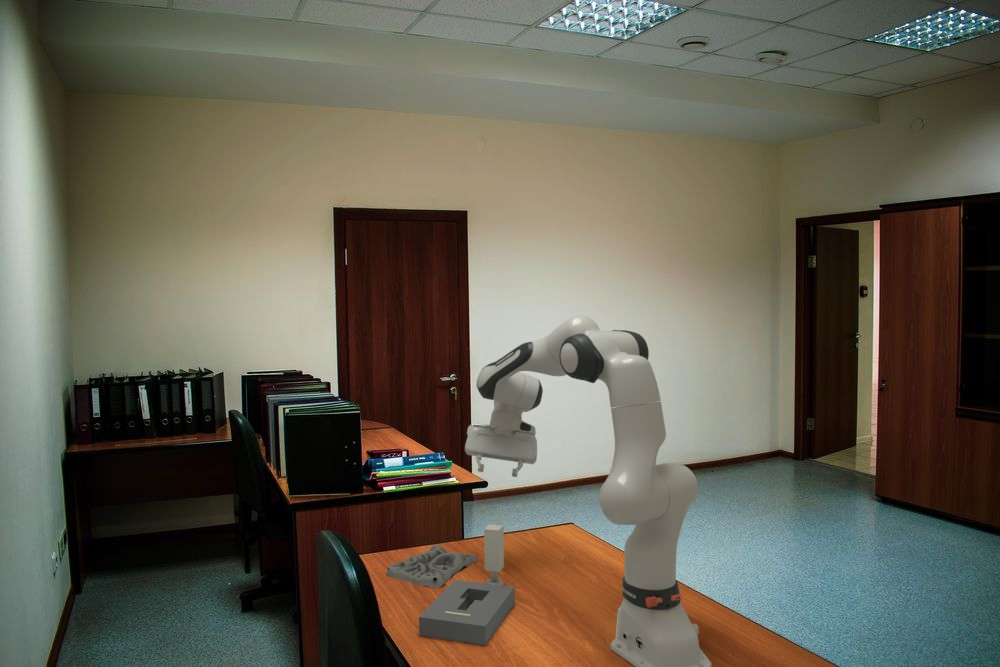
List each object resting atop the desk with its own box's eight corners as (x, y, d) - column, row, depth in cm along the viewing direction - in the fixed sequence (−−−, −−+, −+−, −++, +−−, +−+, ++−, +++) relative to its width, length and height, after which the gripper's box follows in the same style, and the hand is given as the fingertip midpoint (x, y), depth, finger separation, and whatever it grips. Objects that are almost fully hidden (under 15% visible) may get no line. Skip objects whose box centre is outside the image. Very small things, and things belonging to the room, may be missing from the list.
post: (489, 583, 190) (488, 524, 190) (505, 585, 189) (504, 525, 188) (484, 590, 186) (483, 529, 185) (500, 592, 185) (499, 530, 184)
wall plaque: (437, 591, 187) (437, 577, 187) (382, 577, 197) (382, 563, 197) (486, 562, 207) (486, 549, 207) (434, 550, 217) (433, 538, 217)
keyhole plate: (455, 596, 183) (454, 578, 182) (514, 604, 178) (514, 586, 177) (419, 635, 162) (418, 616, 161) (485, 645, 157) (485, 625, 156)
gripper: (468, 417, 200) (459, 464, 193) (540, 427, 198) (534, 475, 191) (469, 426, 205) (460, 472, 198) (539, 436, 203) (533, 482, 197)
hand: (497, 473), depth 195 cm, fingers open, 8 cm apart
